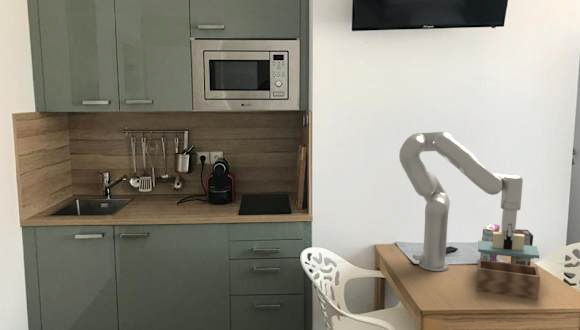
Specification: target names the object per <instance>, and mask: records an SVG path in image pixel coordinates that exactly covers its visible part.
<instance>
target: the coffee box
mask: <svg viewBox="0 0 580 330" xmlns="http://www.w3.org/2000/svg"><path fill="white" fill-rule="evenodd" d="M514 234H524V236H525V238H524V245H529V246H533V242H534V235H533V233H532V232H530V231H529V230H528V229H516V228H515V233H514ZM531 261H532V259H531V258H521V257H512V256H510V263H511V264H518V265H526V266H531V263H532V262H531Z"/></svg>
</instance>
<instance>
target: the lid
mask: <svg viewBox="0 0 580 330" xmlns="http://www.w3.org/2000/svg"><path fill="white" fill-rule="evenodd" d="M507 235H508V234H507ZM524 238H525V236H524V234H512V240H513V241H512V249H511V250H510V249H504V248H503V247H504V239H505V232H504V233H502V231H499V232H493V239H492V242H488V241H482V240H478V242H477V244H478V246H477V253H481V252H483V253H484V254H493V255H497V256H503V257H504V256H505V257H511V256H512V257H521V258H531V260H534V259H540V253H539V249H538V247H537V246H536V245H532V246H529V245H524Z"/></svg>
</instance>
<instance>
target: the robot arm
mask: <svg viewBox="0 0 580 330" xmlns="http://www.w3.org/2000/svg"><path fill="white" fill-rule="evenodd" d="M422 152H423V153H424V152H437V153H438V154H439V155H440V156H441V157H442V158H444V159H445V160H447V162H449V163H451V165H453V166H454V167H455V168H456V169H457V170H458V171H460V173H461V174H463V175H464V176H465V177H466V178H467V179H468V180H470V181H471V183H473V184H474V185H475V186H477V187H478V188H479V189H480V190H482V192H484V193H486V194H488V195H491V196H492V195H493V196H494V195H497V194H499V193H500V192H501V199H500V209H502V214H501V226H500V228H501V232H502V233H505V239H504V247H503V248H504V249H510V250H511V249H512V241H513V240H512V234H514V233H515V229H516V228H517V227H516V226H517V215H518V211H521V207H522V206H521V205H522V195H523V193H522V192H523V182H524V181H523V179H524V178H522V177H521V176H520V175H516V174H500V173H498V172H497V173H496V172H490V171H489V170H488V169H486V168H485V167H484V166H483V165H482V164H481V163H480V162H479V160H478V159H477V157H476V156H475V155H474V154H473V153H472V152H471V151H469V149H467V148H466V147H464V146H463V145H462V144H460V143H459V142H458V141H457V140H456V139H454V137H453V135H452V134H451V133H449V132H447V131H437V132H436V131H434V132H418V133H414V134H413V133H412V134H411V135H409V137H408V138H406V139H405V140H404V142H403V144H402V145H401V147H400V150H399V158H398V159H399V161H400V164H401V167H402V168H403V171H404V172H405V173H406V177H407V178H408V180H409V181H410V183H411V185H412V187H413V189H414V190H415V193H417V194H418V195H419V196H421V197H423V199H424V201H426V202H425V203H426V204H425V209H424V231H423V232H424V234H423V235H424V236H423V248H422V249H423V252H422V254H414V253H413V254H412V259H414V261H419V262H418V266H419V267H420V268H422V269H424V270H425V271H431V272H444V271H447V270H449V263H448V262H446V253H447V242H448V241H447V240H448V239H447V238H448V225H449V224H448V223H449V221H448V220H449V210H450V205H451V203H450V202H451V201H450V198H449V196H448V195H447V192H446V190H445V189H444V188H443V186H442V184H441V182H440V181H439V179H438V178H437V176H436V175H435V174H433V173H432V172H429V170H427V168H426V166H425V164H424V162H423V161H422V160H421V156H420V155H421V154H422ZM507 234H508V235H507Z"/></svg>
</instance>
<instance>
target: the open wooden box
mask: <svg viewBox="0 0 580 330" xmlns="http://www.w3.org/2000/svg"><path fill="white" fill-rule="evenodd" d="M540 280H541V276H540V272H539V270H538V267H537V266H535V265H534V266H532V265H530V266H526V265H518V264H511V262H501V261H496V260H495V261H487V260H480V258H479V259H478V260H477V269H476V281H475V282H476V284H475V291H477V292H485V293H492V294H498V295H499V294H500V295H505V296H510V297H511V296H512V297H518V298H526V299H531V300H532V299H533V300H539V293H540V292H539V291H540V283H541V281H540Z"/></svg>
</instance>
